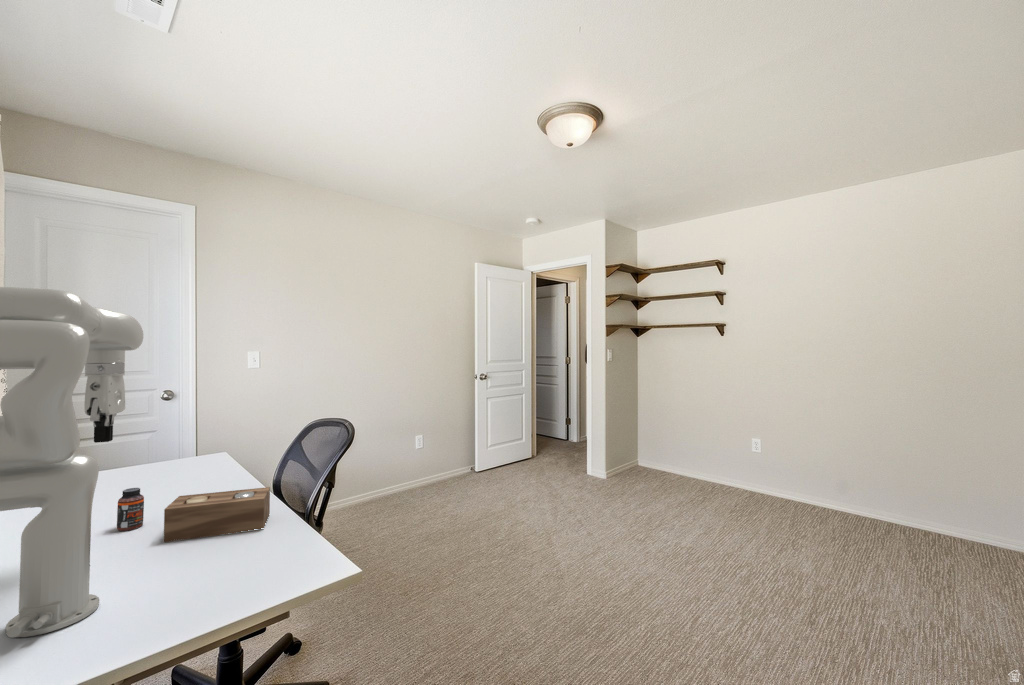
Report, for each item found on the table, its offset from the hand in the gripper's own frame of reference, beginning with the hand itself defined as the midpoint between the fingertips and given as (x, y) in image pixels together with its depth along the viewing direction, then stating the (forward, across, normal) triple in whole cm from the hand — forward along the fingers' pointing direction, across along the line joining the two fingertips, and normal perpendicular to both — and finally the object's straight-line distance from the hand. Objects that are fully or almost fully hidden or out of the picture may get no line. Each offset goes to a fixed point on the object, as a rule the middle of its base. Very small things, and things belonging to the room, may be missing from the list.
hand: (103, 441), depth 112 cm
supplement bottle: (+29, +20, +1) cm, 35 cm away
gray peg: (+29, +10, -30) cm, 43 cm away
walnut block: (+29, +10, -24) cm, 39 cm away
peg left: (+29, +10, -18) cm, 35 cm away
